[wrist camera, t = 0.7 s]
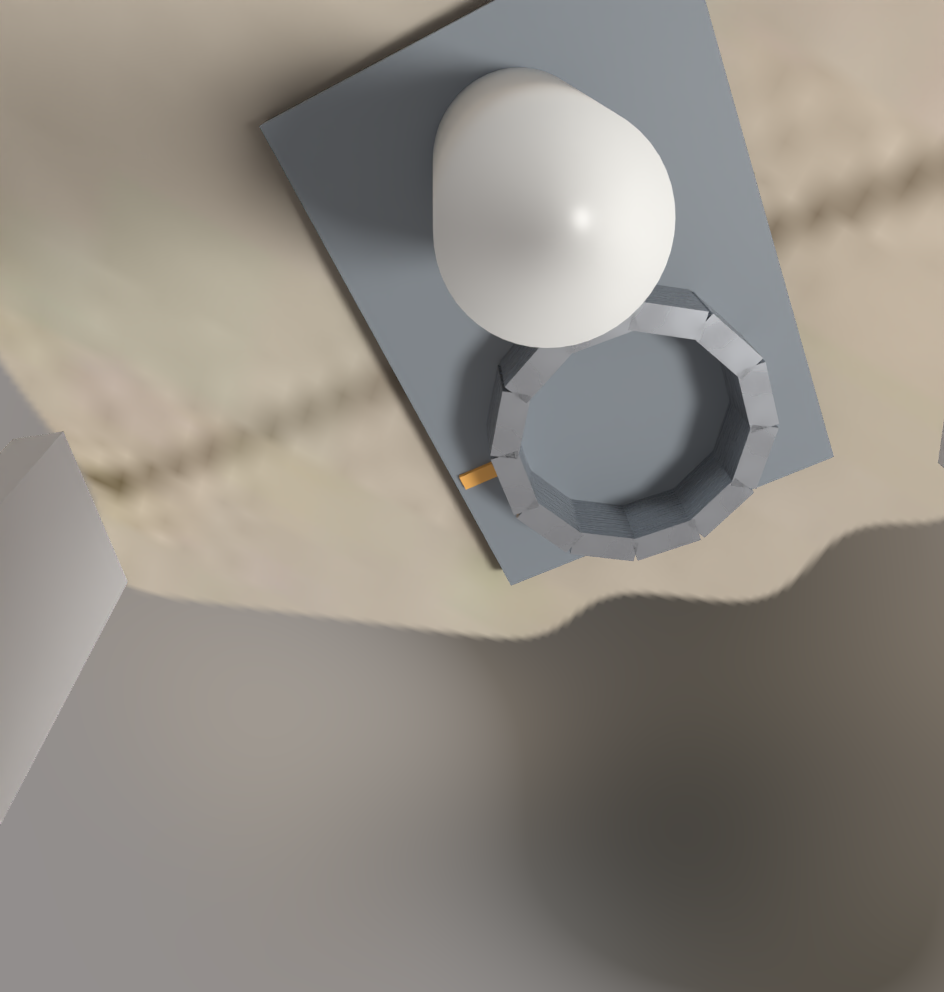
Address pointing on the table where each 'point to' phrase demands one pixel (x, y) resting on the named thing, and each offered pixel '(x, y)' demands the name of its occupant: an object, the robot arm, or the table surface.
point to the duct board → (597, 369)
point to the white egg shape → (546, 210)
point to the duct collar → (664, 514)
